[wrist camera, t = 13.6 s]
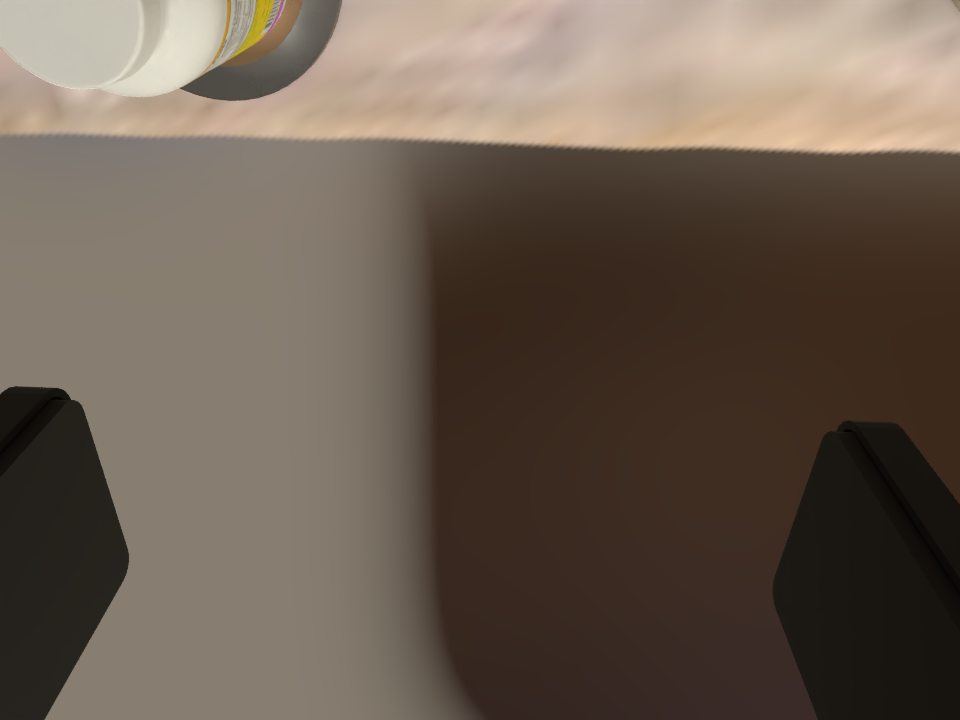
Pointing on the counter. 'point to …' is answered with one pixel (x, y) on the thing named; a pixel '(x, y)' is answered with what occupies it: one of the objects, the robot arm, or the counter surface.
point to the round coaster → (273, 54)
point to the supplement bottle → (130, 40)
